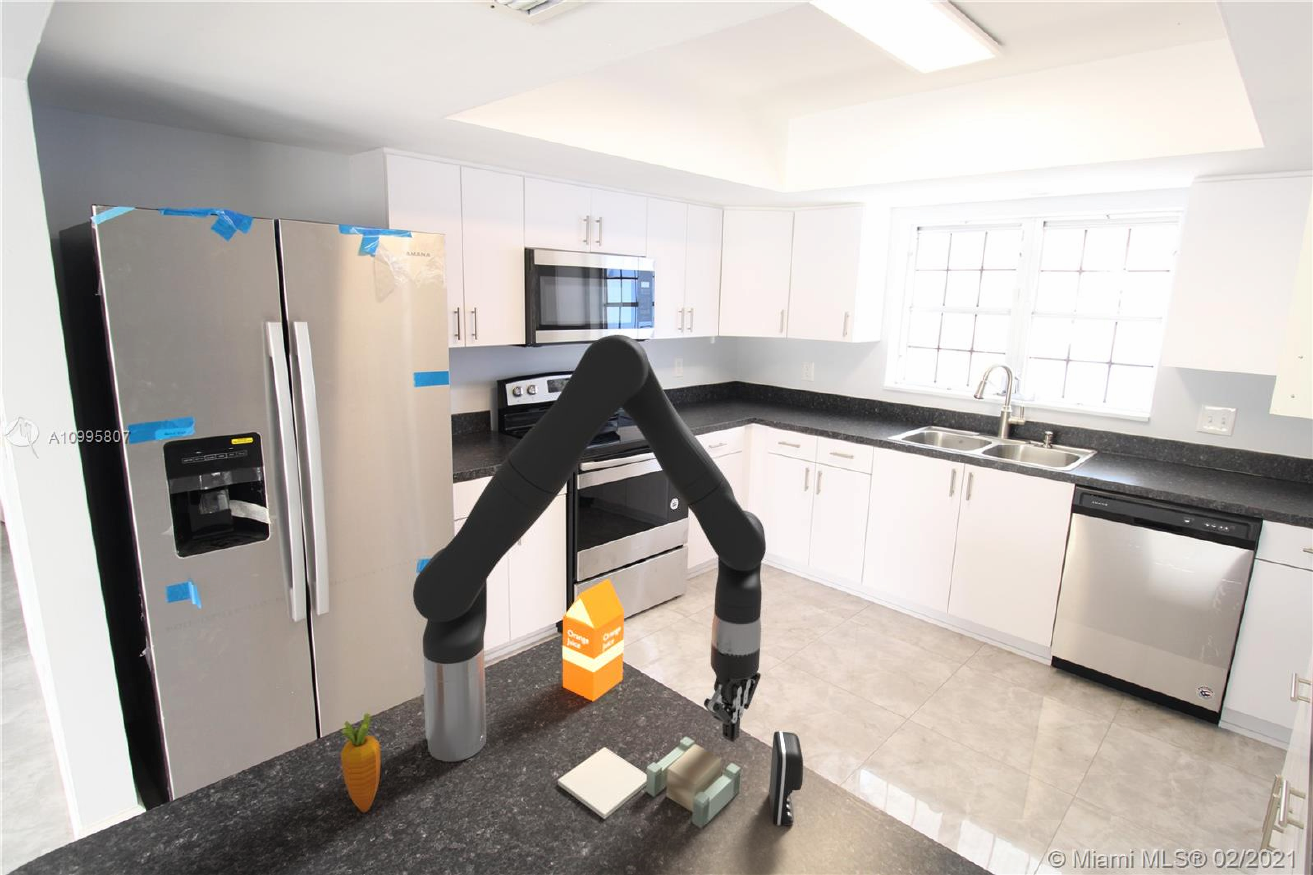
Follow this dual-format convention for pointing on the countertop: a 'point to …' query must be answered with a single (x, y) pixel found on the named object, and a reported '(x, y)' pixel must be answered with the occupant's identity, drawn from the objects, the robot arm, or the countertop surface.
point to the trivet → (603, 782)
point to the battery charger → (784, 776)
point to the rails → (704, 802)
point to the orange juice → (593, 642)
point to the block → (692, 775)
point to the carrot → (361, 764)
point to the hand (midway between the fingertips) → (730, 737)
